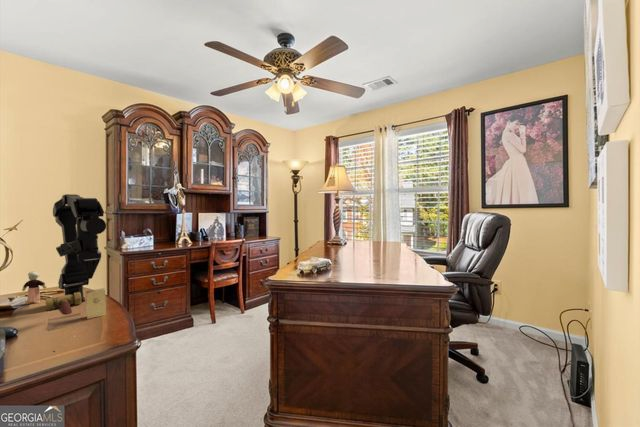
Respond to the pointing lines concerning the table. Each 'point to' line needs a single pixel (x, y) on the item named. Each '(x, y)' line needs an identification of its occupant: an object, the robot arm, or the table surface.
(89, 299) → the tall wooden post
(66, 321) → the tan flat block
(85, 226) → the robot arm
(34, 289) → the grandmother figurine
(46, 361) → the table surface
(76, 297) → the gavel
